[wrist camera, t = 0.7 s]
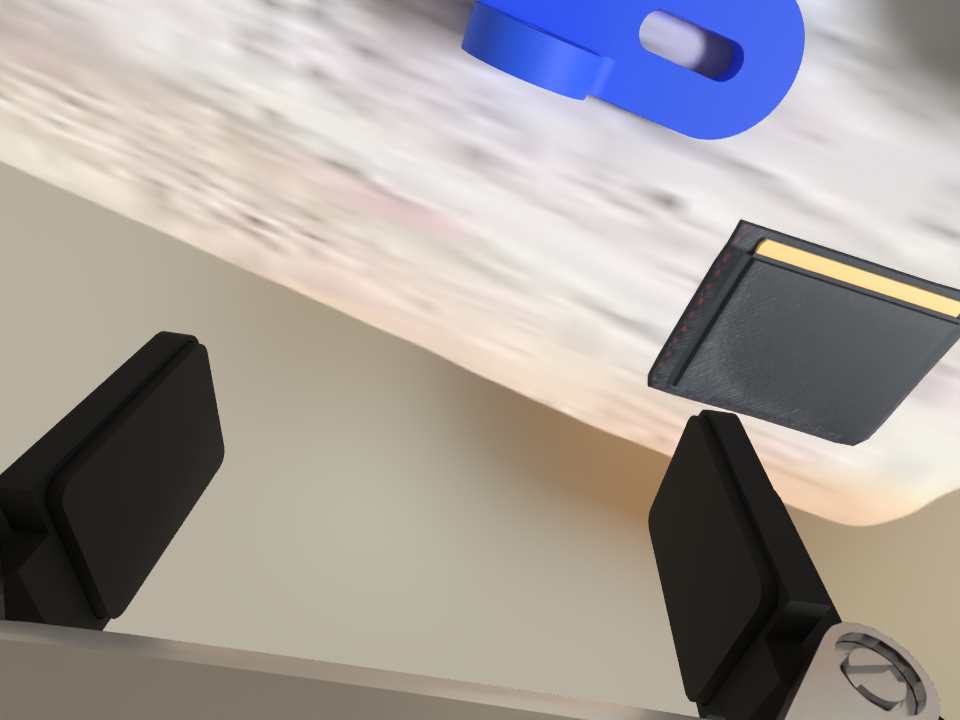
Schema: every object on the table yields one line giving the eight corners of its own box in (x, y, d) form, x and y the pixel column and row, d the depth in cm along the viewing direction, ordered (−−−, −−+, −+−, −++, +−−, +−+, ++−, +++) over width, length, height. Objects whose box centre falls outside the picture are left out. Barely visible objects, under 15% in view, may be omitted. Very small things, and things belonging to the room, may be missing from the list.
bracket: (470, 40, 33) (454, 51, 26) (524, -133, 29) (523, -181, 21) (734, 153, 36) (790, 192, 28) (821, 9, 31) (914, 10, 24)
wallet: (642, 392, 44) (751, 215, 36) (639, 379, 46) (742, 207, 38) (861, 463, 47) (1010, 311, 39) (850, 447, 48) (991, 298, 40)
